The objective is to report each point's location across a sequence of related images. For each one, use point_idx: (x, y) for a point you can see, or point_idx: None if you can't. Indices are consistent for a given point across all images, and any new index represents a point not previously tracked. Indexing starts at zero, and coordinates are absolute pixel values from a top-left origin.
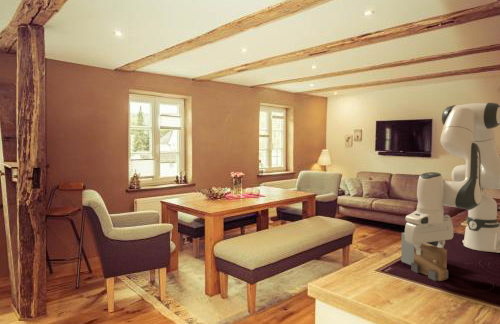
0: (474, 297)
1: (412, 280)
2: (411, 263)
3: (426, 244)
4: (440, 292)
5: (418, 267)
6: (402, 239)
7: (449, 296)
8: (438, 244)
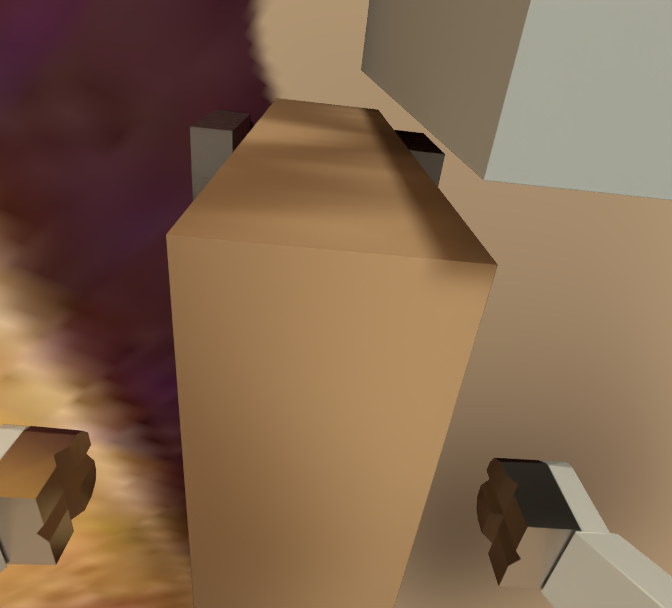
0: None
1: (39, 303)
2: (194, 128)
3: (293, 555)
4: (103, 503)
5: None
6: None
7: (115, 545)
8: (614, 578)
